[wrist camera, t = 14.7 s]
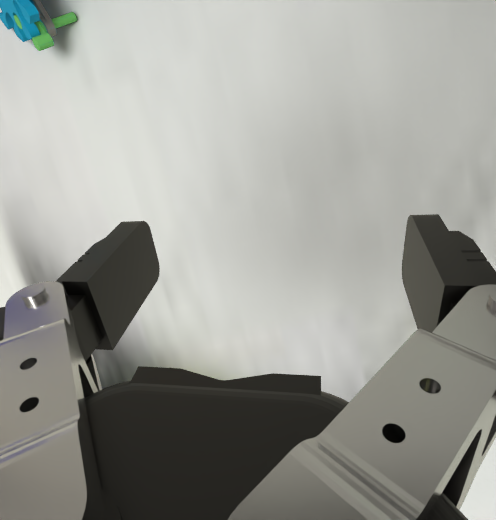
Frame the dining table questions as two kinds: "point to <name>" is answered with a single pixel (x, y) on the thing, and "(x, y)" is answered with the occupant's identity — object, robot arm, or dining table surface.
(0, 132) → the dining table surface
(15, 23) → the gear
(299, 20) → the dining table surface
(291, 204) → the dining table surface
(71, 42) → the dining table surface
